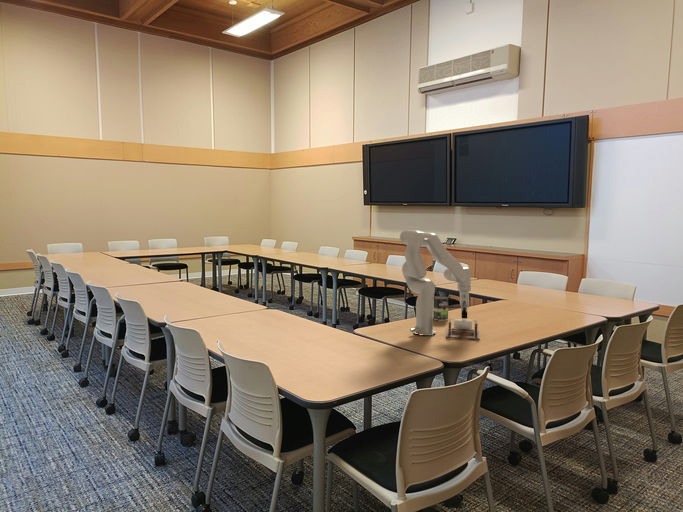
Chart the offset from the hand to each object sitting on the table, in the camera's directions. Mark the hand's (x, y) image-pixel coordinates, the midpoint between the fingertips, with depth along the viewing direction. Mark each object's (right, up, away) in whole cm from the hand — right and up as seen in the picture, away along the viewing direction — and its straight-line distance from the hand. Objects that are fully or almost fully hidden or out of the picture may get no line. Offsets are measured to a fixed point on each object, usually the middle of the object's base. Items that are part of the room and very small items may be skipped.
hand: (464, 316), depth 283 cm
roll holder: (-5, -9, -16) cm, 19 cm away
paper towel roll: (-1, -5, -1) cm, 5 cm away
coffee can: (-10, -5, +22) cm, 25 cm away
